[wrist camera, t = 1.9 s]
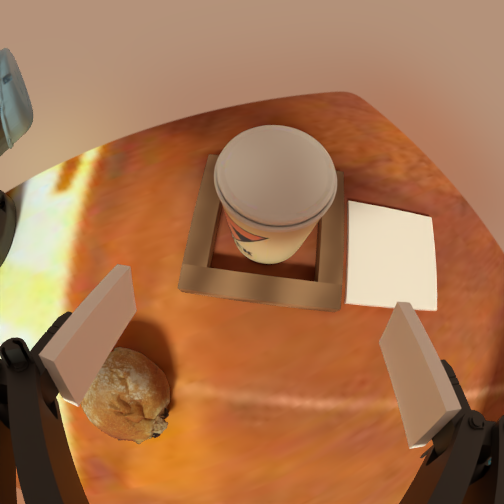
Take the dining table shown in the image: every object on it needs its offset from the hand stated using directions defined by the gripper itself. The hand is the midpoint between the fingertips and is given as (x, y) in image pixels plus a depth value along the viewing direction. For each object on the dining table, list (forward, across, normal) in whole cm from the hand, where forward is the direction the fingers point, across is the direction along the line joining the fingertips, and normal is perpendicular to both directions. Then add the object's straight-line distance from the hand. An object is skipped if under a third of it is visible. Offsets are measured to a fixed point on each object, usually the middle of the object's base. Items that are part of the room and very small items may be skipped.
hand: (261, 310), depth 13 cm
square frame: (+19, 0, -4) cm, 19 cm away
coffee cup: (+19, 0, -4) cm, 19 cm away
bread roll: (+5, -12, -18) cm, 22 cm away
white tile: (+18, +15, -4) cm, 24 cm away
